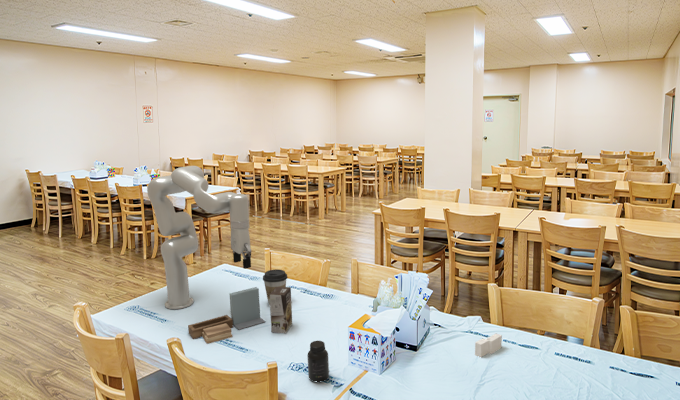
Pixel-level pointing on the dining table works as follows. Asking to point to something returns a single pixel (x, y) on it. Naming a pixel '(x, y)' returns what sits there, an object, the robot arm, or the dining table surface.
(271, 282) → the coffee cup
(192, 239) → the robot arm
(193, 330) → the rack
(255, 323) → the mat
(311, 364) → the supplement bottle
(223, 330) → the offcut stack
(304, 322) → the dining table surface
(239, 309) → the square sheet
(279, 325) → the coffee box
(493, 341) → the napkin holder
